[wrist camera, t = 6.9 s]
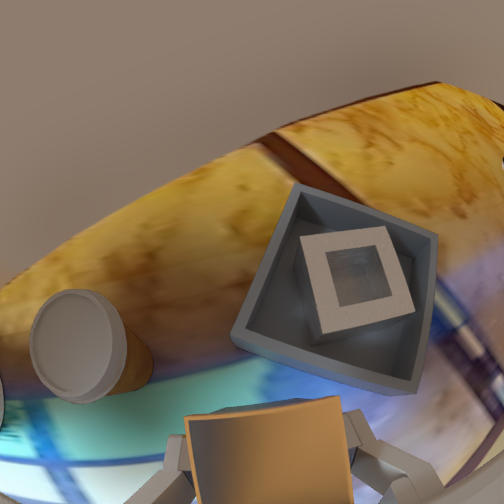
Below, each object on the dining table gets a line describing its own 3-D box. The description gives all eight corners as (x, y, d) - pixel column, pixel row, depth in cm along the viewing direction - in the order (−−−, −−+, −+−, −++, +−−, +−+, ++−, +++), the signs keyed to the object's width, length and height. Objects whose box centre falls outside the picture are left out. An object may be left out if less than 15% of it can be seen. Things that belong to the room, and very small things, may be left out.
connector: (232, 472, 11) (206, 541, 4) (223, 405, 13) (183, 416, 6) (307, 462, 11) (355, 519, 4) (297, 395, 13) (339, 395, 6)
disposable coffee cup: (137, 307, 31) (86, 261, 20) (184, 374, 28) (142, 360, 17) (80, 352, 28) (14, 323, 18) (120, 420, 25) (54, 423, 14)
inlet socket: (310, 346, 28) (322, 333, 23) (292, 264, 32) (299, 236, 27) (389, 327, 28) (415, 311, 23) (367, 253, 33) (385, 225, 28)
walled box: (234, 346, 29) (229, 334, 24) (290, 213, 37) (294, 182, 32) (389, 396, 26) (416, 393, 20) (416, 258, 33) (438, 234, 28)
